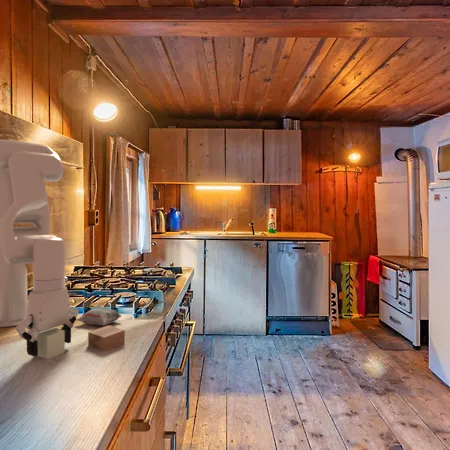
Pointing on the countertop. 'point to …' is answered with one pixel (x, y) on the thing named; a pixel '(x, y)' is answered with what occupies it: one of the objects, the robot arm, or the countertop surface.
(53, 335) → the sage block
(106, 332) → the walnut base
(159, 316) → the countertop surface
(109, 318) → the packaged food
